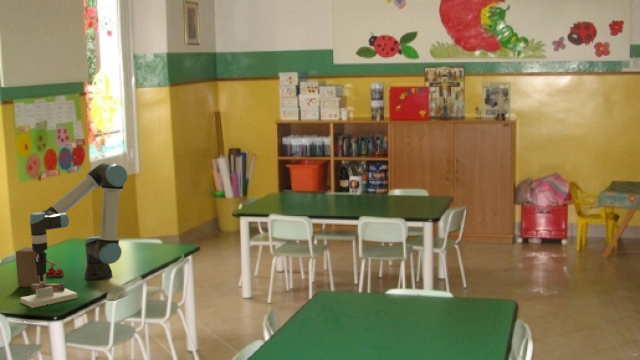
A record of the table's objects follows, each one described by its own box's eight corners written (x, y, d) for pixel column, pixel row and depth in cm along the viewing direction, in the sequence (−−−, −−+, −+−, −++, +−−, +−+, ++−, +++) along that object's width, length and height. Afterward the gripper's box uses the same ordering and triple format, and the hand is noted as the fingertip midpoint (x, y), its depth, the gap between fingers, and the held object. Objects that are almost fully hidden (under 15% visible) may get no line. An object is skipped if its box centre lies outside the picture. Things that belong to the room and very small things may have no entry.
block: (34, 287, 462) (31, 251, 460) (17, 287, 464) (14, 251, 462) (43, 282, 472) (41, 247, 469) (27, 282, 474) (24, 247, 471)
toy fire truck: (61, 277, 483) (59, 260, 482) (40, 276, 488) (39, 259, 486) (64, 276, 486) (63, 259, 485) (44, 274, 491) (43, 258, 489)
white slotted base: (65, 292, 450) (64, 280, 449) (77, 297, 439) (76, 285, 439) (20, 302, 434) (19, 289, 433) (32, 307, 424) (31, 295, 423)
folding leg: (65, 289, 447) (65, 282, 446) (63, 290, 444) (62, 284, 443) (33, 289, 448) (33, 283, 448) (31, 290, 445) (30, 284, 445)
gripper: (36, 239, 451) (39, 283, 455) (28, 245, 439) (31, 290, 442) (50, 239, 451) (53, 283, 455) (42, 244, 439) (46, 289, 442)
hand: (42, 286), depth 448 cm, fingers closed
